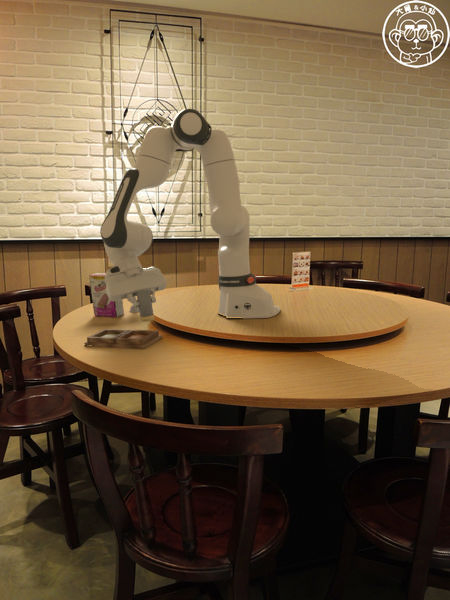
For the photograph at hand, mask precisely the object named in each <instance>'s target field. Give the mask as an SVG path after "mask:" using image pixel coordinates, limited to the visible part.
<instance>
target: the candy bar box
mask: <svg viewBox="0 0 450 600" xmlns="http://www.w3.org/2000/svg"><path fill="white" fill-rule="evenodd" d="M105 275H106V272H103V273H102V272H96V273H92V274H89V275H88V277H89V285H90V294H91V300H92V301H91V302H92V308H93V316H94V315H95V316H94V317H102V316H104V317H106V318H119V317H121V316H124V315H125V312H124V311H125V310H124V309H125V308H124V302H123V301H124V300H123V299H122V300H118V301H111V300H109V298H108V295H107V292H106V284H105Z"/></svg>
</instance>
